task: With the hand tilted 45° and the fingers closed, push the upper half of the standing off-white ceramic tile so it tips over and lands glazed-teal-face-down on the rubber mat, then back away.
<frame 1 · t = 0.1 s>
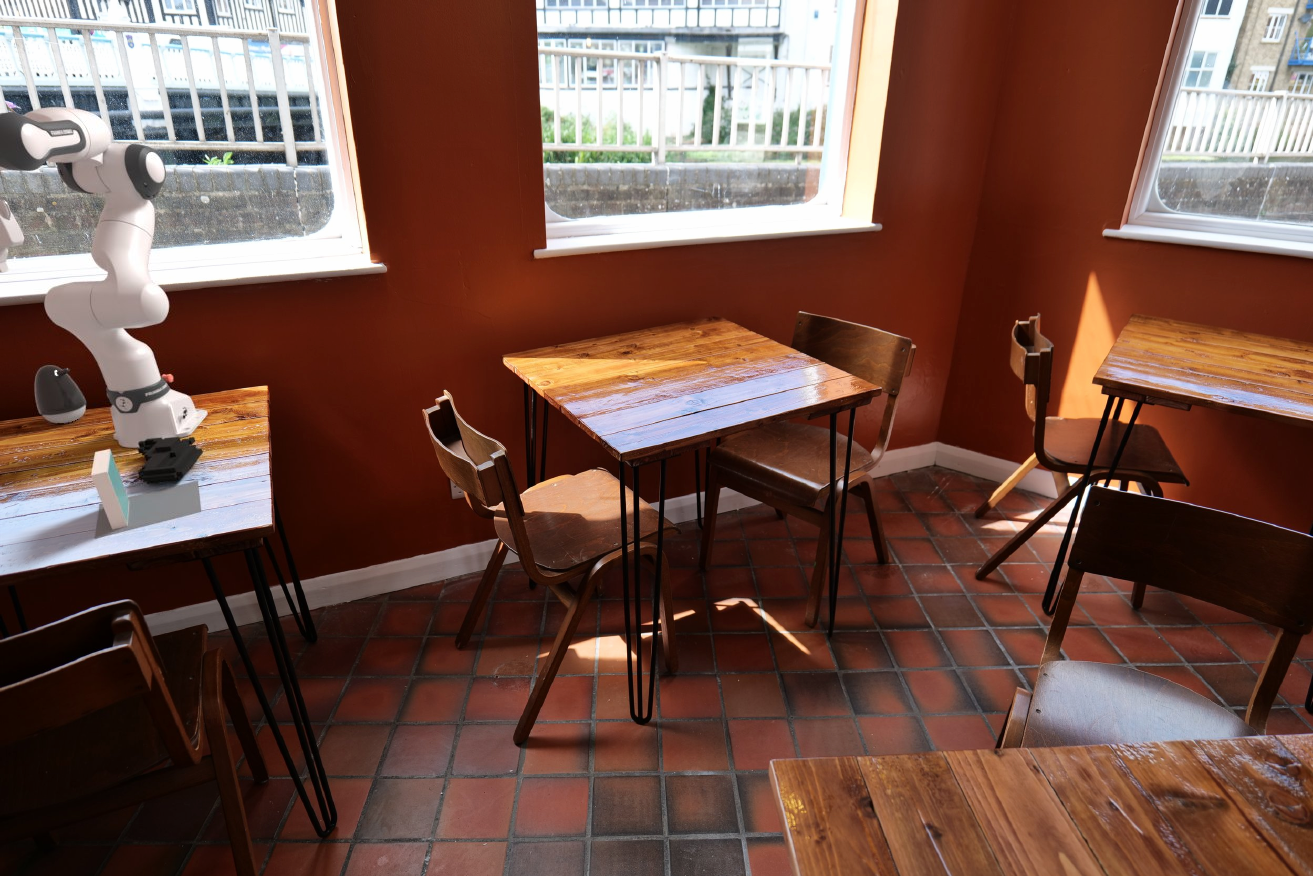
mat: (150, 509, 154), on the table
penguin toy figure: (68, 420, 200), on the table
tile: (121, 514, 152), resting on mat
tool: (166, 470, 171), on the table, touching mat
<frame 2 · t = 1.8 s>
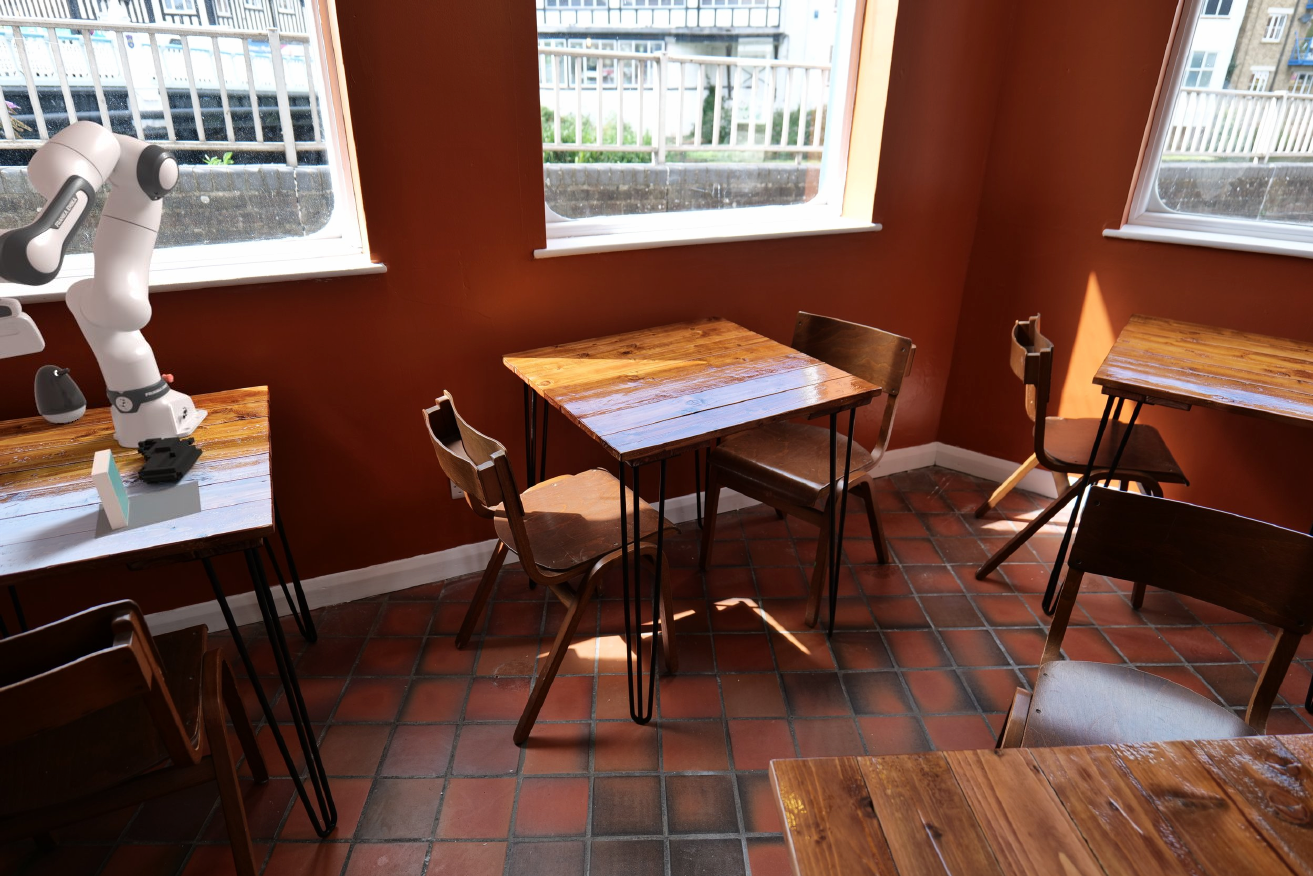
nothing on the table moved.
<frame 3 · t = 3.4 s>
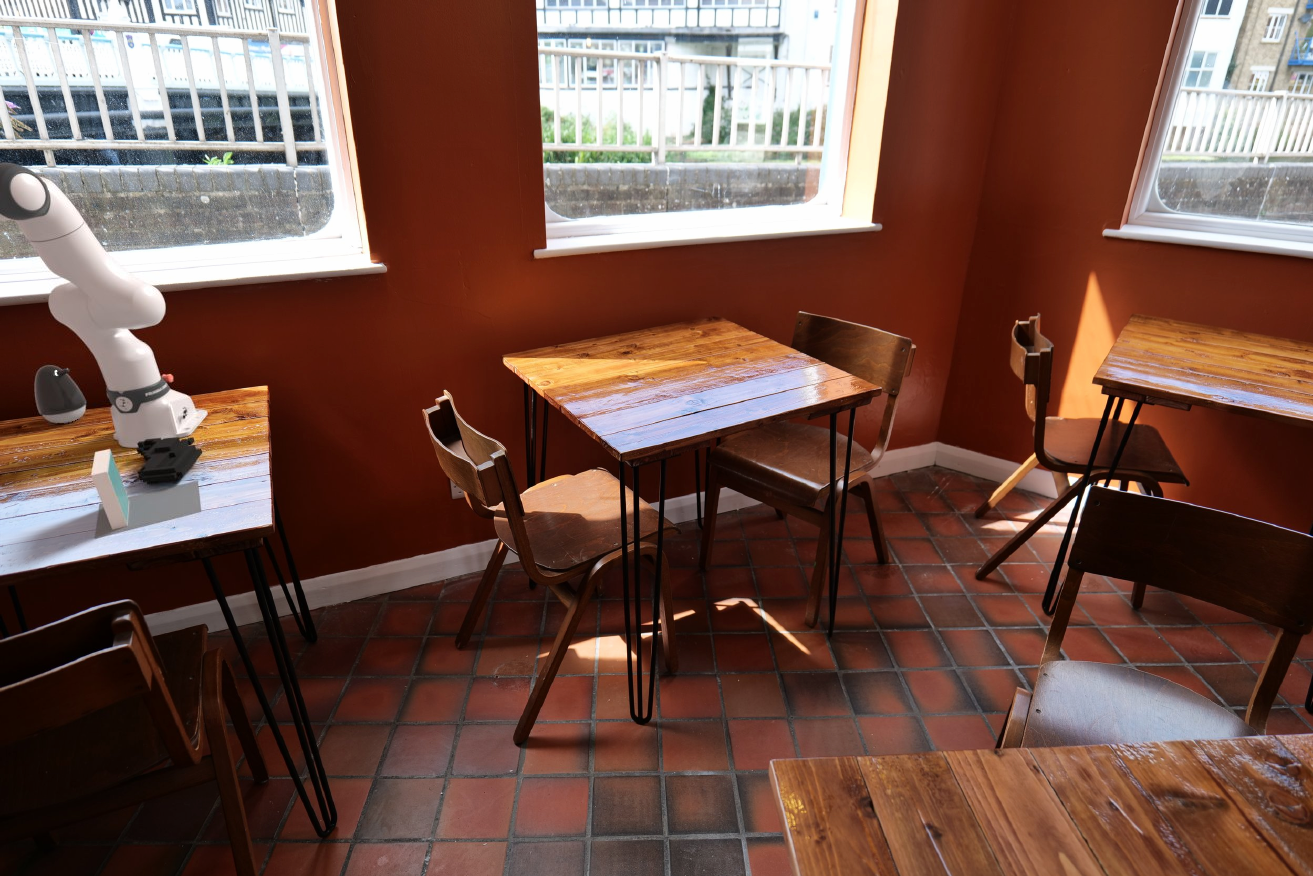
nothing on the table moved.
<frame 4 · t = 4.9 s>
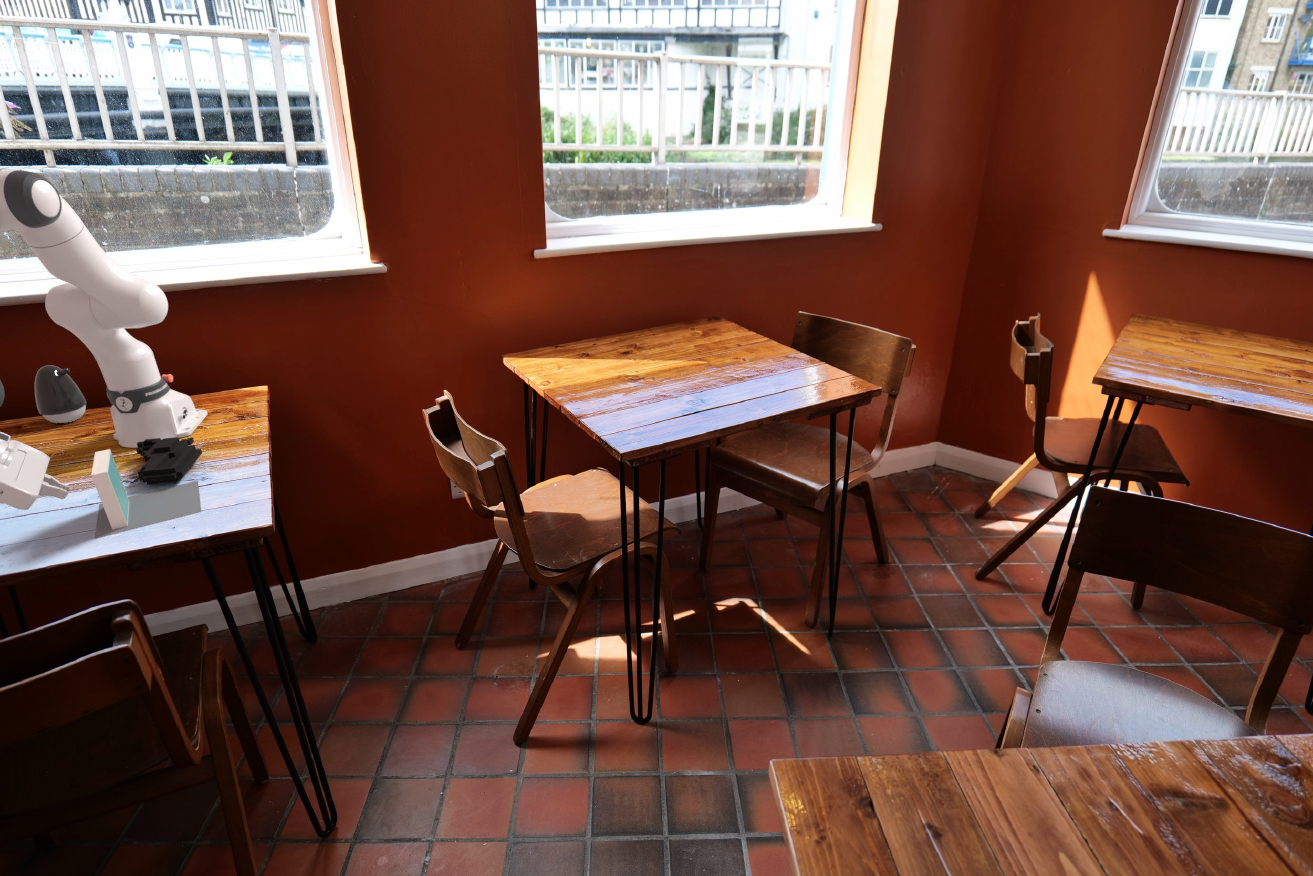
hand: (67, 493, 146), 7 cm above the table, fingers closed
nothing on the table moved.
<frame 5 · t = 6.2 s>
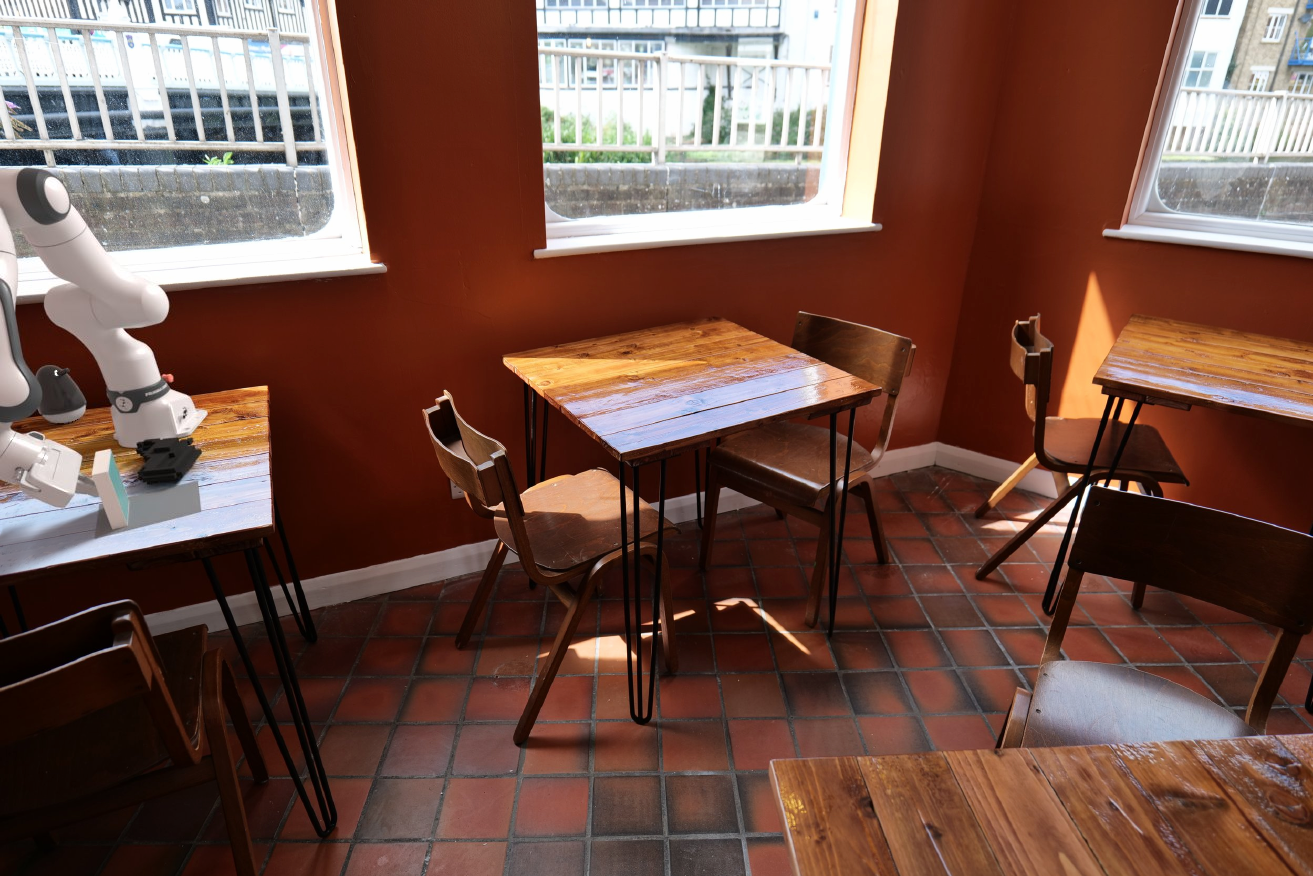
hand: (100, 491, 149), 6 cm above the table, fingers closed, pressing on tile
tile: (121, 514, 152), resting on mat, touching gripper
everything else where it was.
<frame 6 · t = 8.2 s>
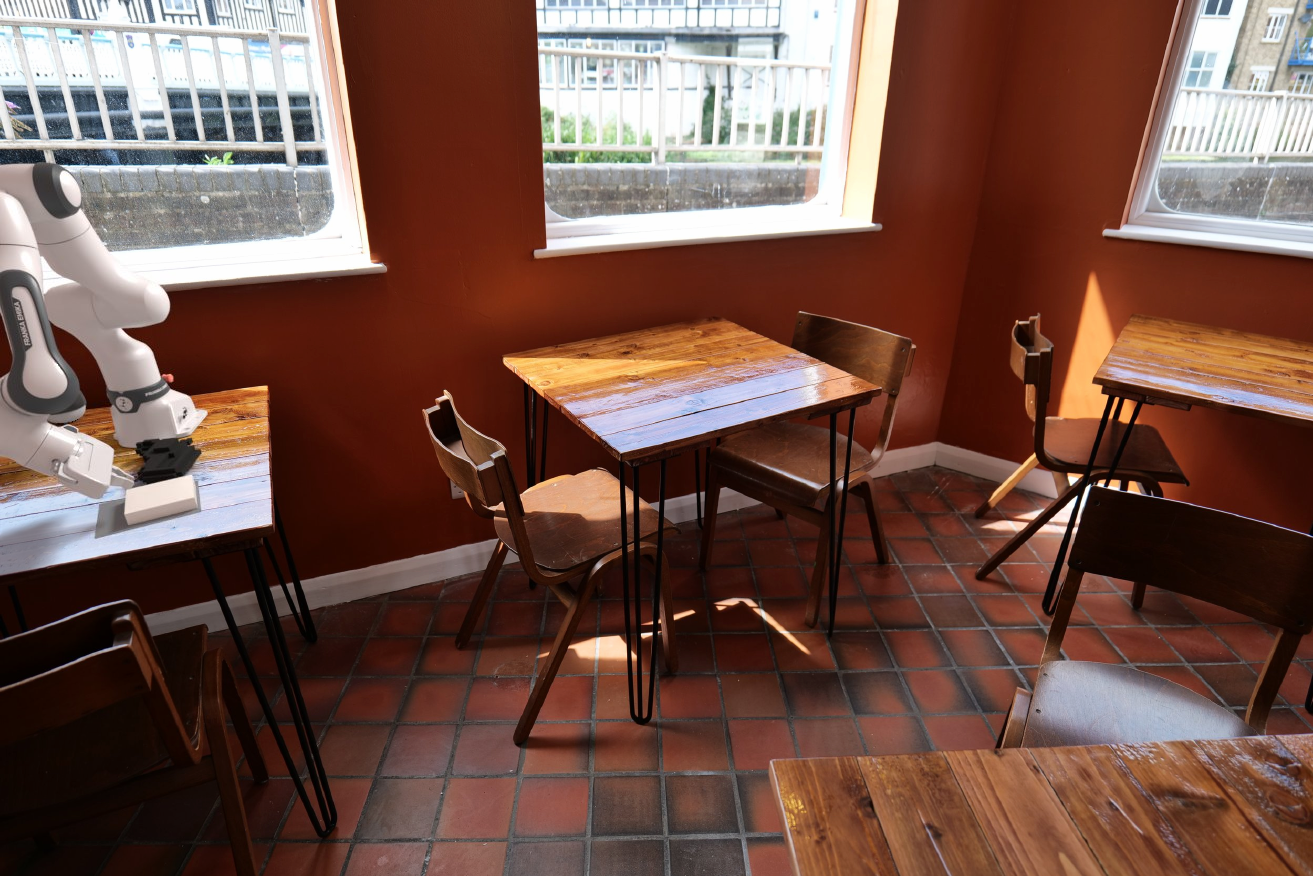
hand: (132, 483, 151), 6 cm above the table, fingers closed
tile: (127, 507, 152), point 2 cm above the table, tilted 90°, touching mat
everything else where it was.
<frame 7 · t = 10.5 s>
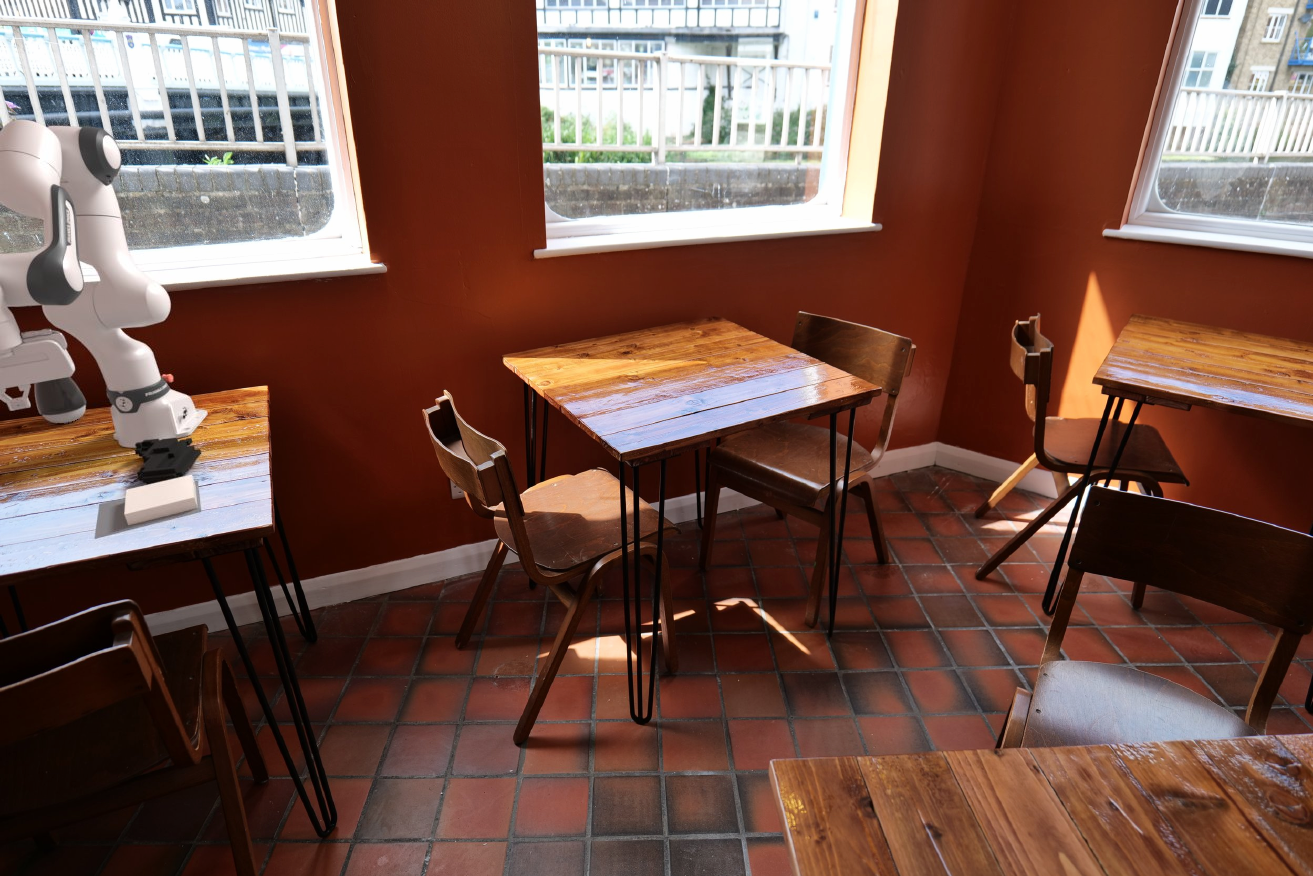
hand: (20, 408, 141), 25 cm above the table, fingers closed
nothing on the table moved.
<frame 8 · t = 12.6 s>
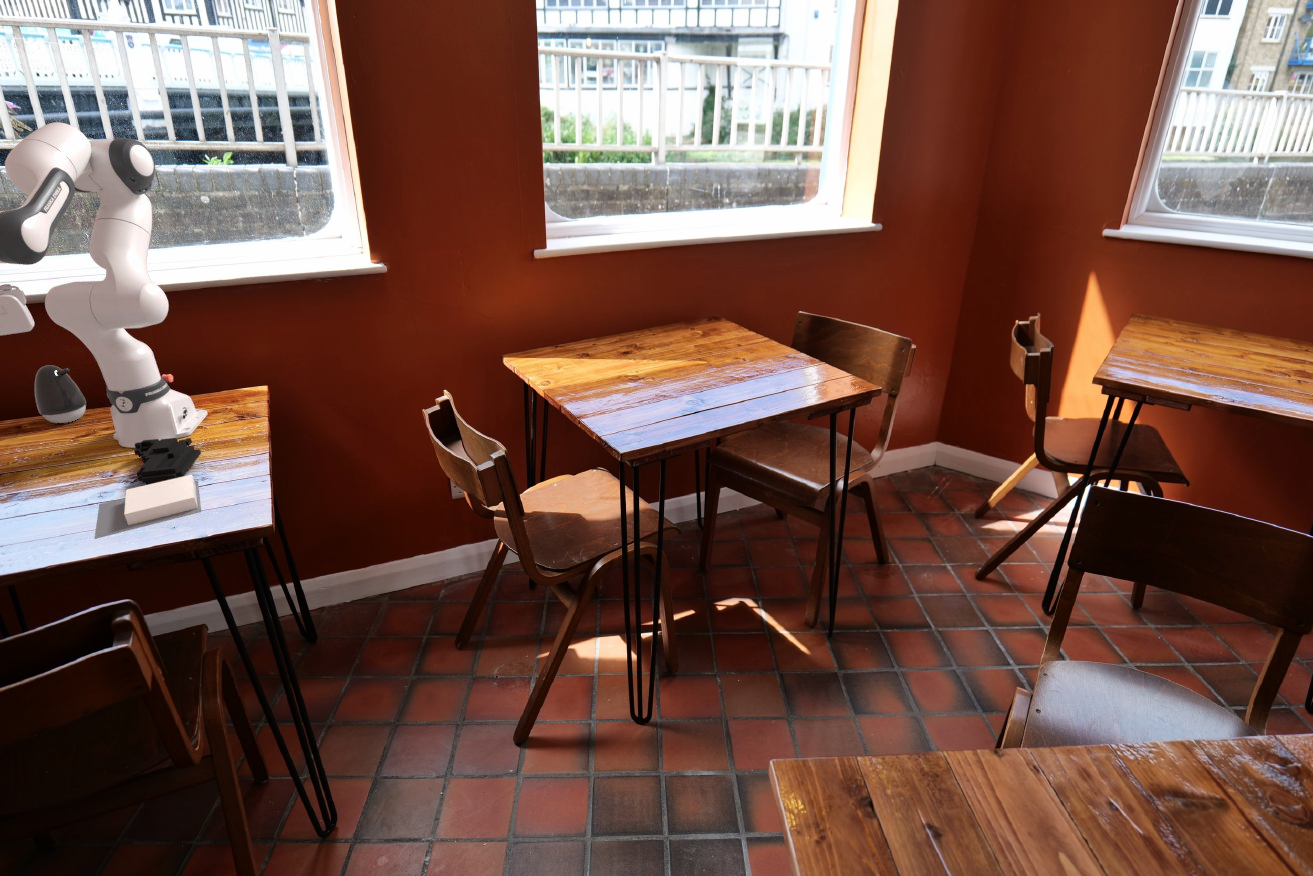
nothing on the table moved.
at the end: tile tilted 90°; tile 3.6 cm from the mat (horizontally); tile point 1.7 cm above the table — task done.
